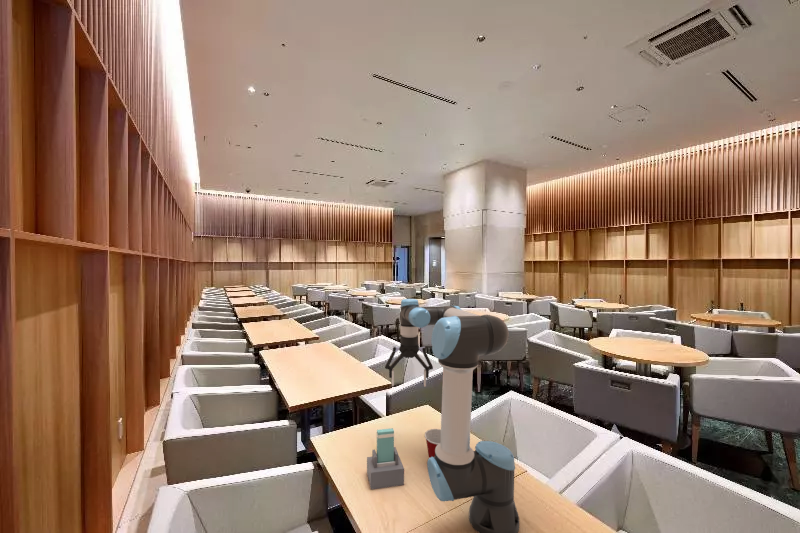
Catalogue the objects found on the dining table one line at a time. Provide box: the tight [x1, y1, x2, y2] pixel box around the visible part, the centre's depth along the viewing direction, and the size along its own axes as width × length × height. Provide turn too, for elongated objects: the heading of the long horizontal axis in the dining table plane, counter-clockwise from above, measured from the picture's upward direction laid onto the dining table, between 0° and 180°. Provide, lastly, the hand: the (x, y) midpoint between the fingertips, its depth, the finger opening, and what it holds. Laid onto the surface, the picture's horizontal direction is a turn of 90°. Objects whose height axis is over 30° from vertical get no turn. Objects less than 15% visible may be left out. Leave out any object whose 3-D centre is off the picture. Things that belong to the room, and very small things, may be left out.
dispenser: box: [366, 446, 405, 491], centre depth 131 cm, size 10×12×10 cm
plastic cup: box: [424, 428, 441, 459], centre depth 139 cm, size 11×11×12 cm
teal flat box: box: [376, 428, 395, 463], centre depth 130 cm, size 2×6×12 cm, turn 103°
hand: (408, 385), depth 151 cm, fingers open, 13 cm apart
